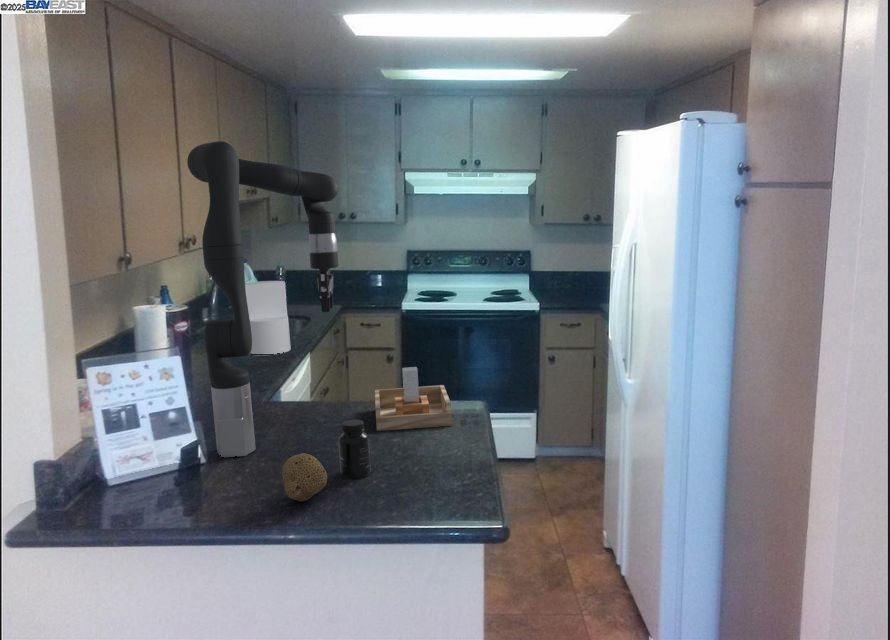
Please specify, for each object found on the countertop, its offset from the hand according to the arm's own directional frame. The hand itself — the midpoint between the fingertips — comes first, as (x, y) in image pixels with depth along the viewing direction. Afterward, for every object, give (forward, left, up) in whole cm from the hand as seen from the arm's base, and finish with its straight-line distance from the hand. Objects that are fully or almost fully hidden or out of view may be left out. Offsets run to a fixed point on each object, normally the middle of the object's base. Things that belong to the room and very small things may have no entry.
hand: (327, 310), depth 206 cm
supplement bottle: (-43, -6, -31) cm, 54 cm away
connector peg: (-3, -21, -29) cm, 36 cm away
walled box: (-3, -21, -31) cm, 38 cm away
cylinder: (+105, +32, -31) cm, 114 cm away
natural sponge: (-56, +4, -31) cm, 64 cm away
